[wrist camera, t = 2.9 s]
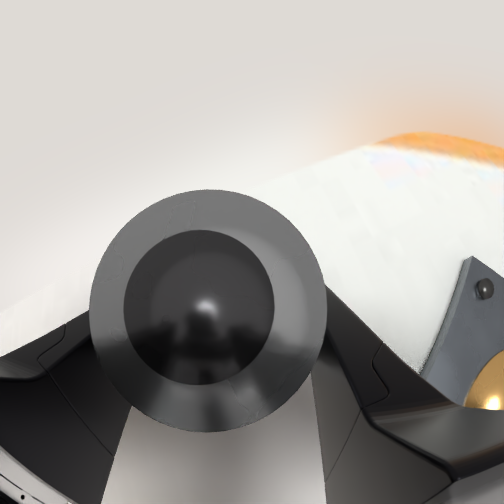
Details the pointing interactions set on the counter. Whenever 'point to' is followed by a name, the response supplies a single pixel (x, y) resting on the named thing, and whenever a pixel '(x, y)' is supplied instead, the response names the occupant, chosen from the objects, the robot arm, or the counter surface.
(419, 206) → the counter surface
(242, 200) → the sleeve
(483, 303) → the flange plate
